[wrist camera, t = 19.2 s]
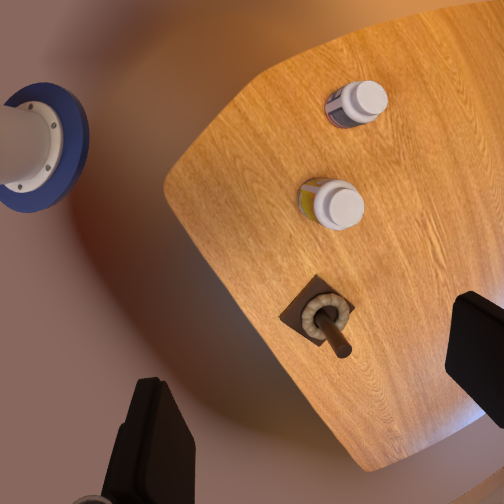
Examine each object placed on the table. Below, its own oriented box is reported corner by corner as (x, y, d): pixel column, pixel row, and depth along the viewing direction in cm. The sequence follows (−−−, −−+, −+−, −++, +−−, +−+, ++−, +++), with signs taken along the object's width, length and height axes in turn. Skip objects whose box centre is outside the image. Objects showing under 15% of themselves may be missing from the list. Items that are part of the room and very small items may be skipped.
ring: (291, 312, 42) (293, 317, 41) (332, 282, 42) (336, 286, 40) (316, 344, 44) (319, 349, 43) (354, 316, 44) (358, 321, 42)
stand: (278, 316, 44) (296, 361, 33) (316, 274, 43) (346, 308, 32) (317, 343, 46) (341, 387, 35) (352, 304, 45) (386, 341, 34)
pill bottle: (361, 129, 38) (395, 121, 29) (326, 129, 38) (354, 120, 29) (357, 92, 37) (389, 77, 28) (322, 91, 36) (348, 73, 28)
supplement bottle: (318, 227, 41) (348, 246, 31) (287, 200, 40) (310, 211, 30) (344, 196, 40) (381, 206, 30) (315, 168, 39) (345, 169, 29)
